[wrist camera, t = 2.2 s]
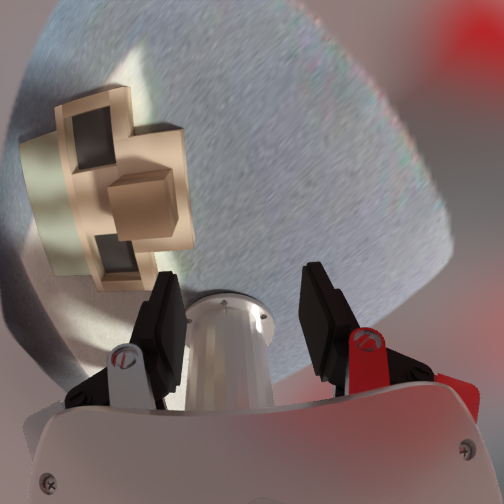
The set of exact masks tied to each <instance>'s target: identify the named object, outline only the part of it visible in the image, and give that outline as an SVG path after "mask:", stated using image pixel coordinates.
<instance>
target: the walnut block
mask: <svg viewBox="0 0 504 504" xmlns="http://www.w3.org/2000/svg"><path fill="white" fill-rule="evenodd" d="M107 190H108V196H109V200H110V205H111V210H112V214H113V219H114V223H115V227H116V231H117V235H118V239H119V241H128V240H141V239H153V238H167V237H172V235H173V233H174V230H175V227H176V225H177V222H178V220H179V215H178V208H177V200H176V193H175V184H174V176H173V169H165V170H157V171H149V172H141V173H134V174H127V175H123V176H121V177H120V178H119V179H117V180H116V181H115V182H113V183H112V184H111V185H110V186H108V187H107Z"/></svg>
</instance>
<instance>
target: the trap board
mask: <svg viewBox="0 0 504 504" xmlns="http://www.w3.org/2000/svg"><path fill="white" fill-rule="evenodd" d="M54 109H55V120H56V129H57V130H56V131H53V132H50V133H48V134H45V135H42V136H39V137H36V138H34V139H31V140H29V141H26V142H23V143H21V144H19V151H20V157H21V163H22V168H23V173H24V178H25V183H26V187H27V192H28V196H29V200H30V204H31V207H32V211H33V215H34V218H35V221H36V225H37V228H38V231H39V234H40V237H41V240H42V243H43V246H44V249H45V252H46V255H47V257H48V260H49V263H50V265H51V268H52V270H53V273H54V275H55V276H76V275H92V278H93V281H94V283H95V286H96V288H97V291H98V292H113V291H149V290H153V287H154V284H155V281H156V278H157V276H158V269H157V265H156V260H155V256H154V252H160V251H175V250H190V249H193V248H194V244H195V235H194V227H193V219H192V211H191V202H190V193H189V184H188V174H187V164H186V153H185V141H184V128H183V129H174V130H167V131H159V132H152V133H146V134H140V135H134V126H133V115H132V101H131V88H130V87H120V88H116V89H112V90H108V91H104V92H100V93H97V94H93V95H90V96H87V97H83V98H80V99H77V100H74V101H71V102H68V103H65V104H62V105H59V106H57V107H54ZM165 169H173V176H174V184H175V193H176V200H177V208H178V215H179V220H178V222H177V225H176V227H175V230H174V233H173V235H172V237H167V238H153V239H141V240H128V241H119V239H118V235H117V231H116V227H115V223H114V219H113V214H112V210H111V205H110V200H109V196H108V190H107V187H108V186H110V185H111V184H112V183H113V182H115V181H116V180H117V179H119V178H120V177H121V176H123V175H127V174H134V173H141V172H149V171H157V170H165Z"/></svg>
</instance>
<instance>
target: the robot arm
mask: <svg viewBox="0 0 504 504" xmlns="http://www.w3.org/2000/svg"><path fill="white" fill-rule="evenodd" d="M298 313H299V320H300V323H301V327H302V330H303V334H304V337H305V340H306V344H307V347H308V351H309V354H310V357H311V361H312V364H313V368H314V371H315V374H316V376H319V375H320V378H321V381H322V382H325V381H329V383H331V384H333V385H334V387H333V398H331V399H325V400H320V401H313V402H307V403H300V404H292V405H285V406H276V407H275V403H274V397H273V390H272V384H271V377H270V371H269V364H268V358H267V351H266V348H267V347H268V346H269V344H270V343H271V341H272V339H273V337H274V333H275V325H274V320H273V317H272V315H271V313H270V311H269V310H268V309H267V308H266V307H265V306H264V305H263V304H262V303H260V302H259V301H257V300H255V299H253V298H251V297H248V296H245V295H241V294H234V293H220V294H214V295H210V296H207V297H204V298H202V299H200V300H198V301H196V302H194V303H193V304H192V305H191V306H190V307H189V308H188V309H187V310H186V311H185V310H184V305H183V301H182V296H181V292H180V287H179V283H178V278H177V275H176V274H173V273H172V271H163V272H159V273H158V276H157V278H156V281H155V284H154V287H153V290H152V293H151V296H150V299H149V301H144V302H143V303H142V305H141V308H140V311H139V314H138V317H137V320H136V323H135V326H134V329H133V332H132V335H131V339H130V342H129V343H126V344H121V345H118V346H117V347H115V348H113V350H112V351H111V352H110V353H109V355H108V358H107V367H106V368H104V369H103V370H101V371H100V372H98V373H96V374H95V375H93V376H92V377H90V378H88V379H87V380H85V381H84V382H82V383H80V384H79V385H77V386H76V387H74V388H73V389H71V390H70V391H69V392H68V394H67V395H66V397H65V401H64V402H61V401H58V402H56V403H54V404H52V405H50V406H48V407H46V408H44V409H42V410H40V411H38V412H36V413H34V414H32V415H30V416H29V417H28V418H27V419H26V420H25V422H24V425H23V432H24V435H25V439H26V442H27V445H28V448H29V451H30V454H31V457H32V459H33V464H32V469H31V475H30V481H29V488H28V495H27V503H26V504H503V501H502V497H501V493H500V489H499V485H498V481H497V478H496V474H495V471H494V468H493V465H492V462H491V459H490V456H489V454H488V451H487V449H486V446H485V443H484V441H483V439H482V436H481V434H480V432H479V429H478V427H477V425H476V424H477V418H478V412H479V404H480V393H479V390H478V388H477V387H475V386H474V385H473V384H471V383H467V382H464V381H461V380H458V379H455V378H452V377H449V376H446V375H443V374H440V373H438V374H437V375H434V373H433V372H432V370H431V368H430V367H429V366H427V365H426V364H424V363H422V362H419V361H417V360H415V359H412V358H410V357H407V356H405V355H403V354H400V353H398V352H396V351H393V350H391V349H389V348H386V344H385V339H384V337H383V336H382V334H381V333H380V332H378V331H377V330H375V329H373V328H368V327H361V328H360V326H359V324H358V322H357V320H356V318H355V316H354V314H353V312H352V310H351V308H350V306H349V304H348V302H347V300H346V299H345V297H344V295H343V293H342V291H341V290H340V289H334V287H333V285H332V283H331V281H330V279H329V277H328V275H327V273H326V272H325V270H324V268H323V266H322V264H321V262H308V263H307V266H303V269H302V281H301V291H300V302H299V312H298ZM185 344H186V345H187V346H188V347H189V348H190V353H189V363H188V374H187V386H186V398H185V411H176V410H167V406H166V402H165V398H164V397H165V396H167V395H168V394H169V392H170V393H175V391H176V386H179V385H180V382H181V373H182V364H183V355H184V347H185Z"/></svg>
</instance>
